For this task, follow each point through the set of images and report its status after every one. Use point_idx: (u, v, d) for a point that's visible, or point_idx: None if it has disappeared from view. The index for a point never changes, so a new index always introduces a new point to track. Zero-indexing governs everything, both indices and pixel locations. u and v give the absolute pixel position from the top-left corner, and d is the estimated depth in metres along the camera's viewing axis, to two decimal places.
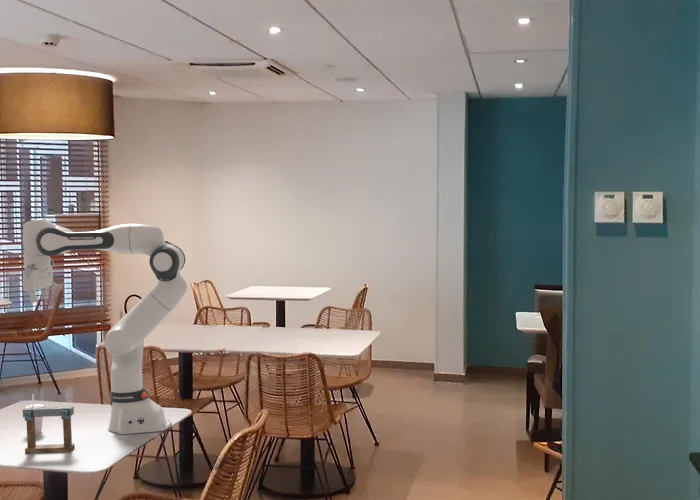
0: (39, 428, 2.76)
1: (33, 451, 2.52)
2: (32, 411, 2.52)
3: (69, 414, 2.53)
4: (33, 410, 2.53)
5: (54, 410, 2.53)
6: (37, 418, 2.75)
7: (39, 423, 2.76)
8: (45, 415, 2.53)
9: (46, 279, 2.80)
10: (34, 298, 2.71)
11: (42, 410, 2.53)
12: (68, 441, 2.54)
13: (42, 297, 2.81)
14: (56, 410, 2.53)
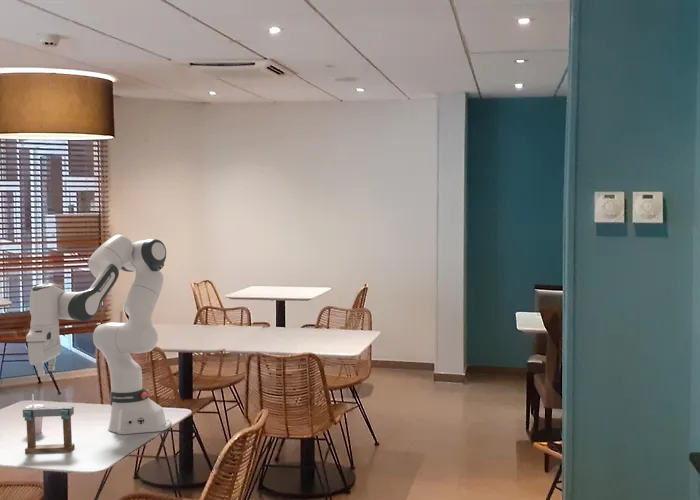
0: (39, 428, 2.76)
1: (33, 451, 2.52)
2: (32, 411, 2.52)
3: (69, 414, 2.53)
4: (33, 410, 2.53)
5: (54, 410, 2.53)
6: (37, 418, 2.75)
7: (39, 423, 2.76)
8: (45, 415, 2.53)
9: None
10: None
11: (42, 410, 2.53)
12: (68, 441, 2.54)
13: None
14: (56, 410, 2.53)
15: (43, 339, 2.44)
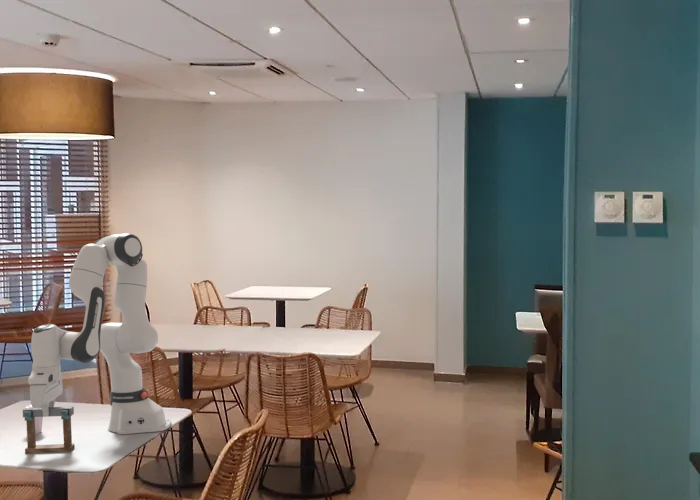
0: (39, 428, 2.76)
1: (33, 451, 2.52)
2: (32, 411, 2.52)
3: (69, 414, 2.53)
4: (33, 410, 2.53)
5: (54, 410, 2.53)
6: (37, 418, 2.75)
7: (39, 423, 2.76)
8: None
9: None
10: None
11: None
12: (68, 441, 2.54)
13: None
14: (56, 410, 2.53)
15: (45, 382, 2.45)
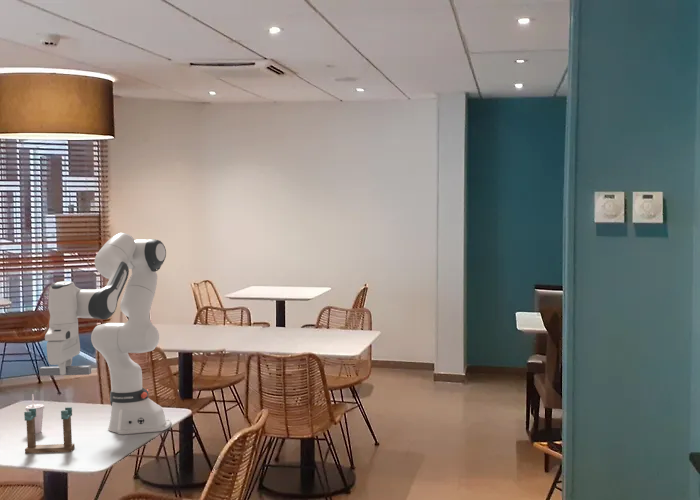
0: (39, 428, 2.76)
1: (33, 451, 2.52)
2: (49, 369, 2.47)
3: (86, 373, 2.47)
4: (50, 368, 2.47)
5: (71, 369, 2.47)
6: (37, 418, 2.75)
7: (39, 423, 2.76)
8: None
9: None
10: None
11: None
12: (68, 441, 2.54)
13: None
14: (73, 369, 2.47)
15: (62, 338, 2.39)
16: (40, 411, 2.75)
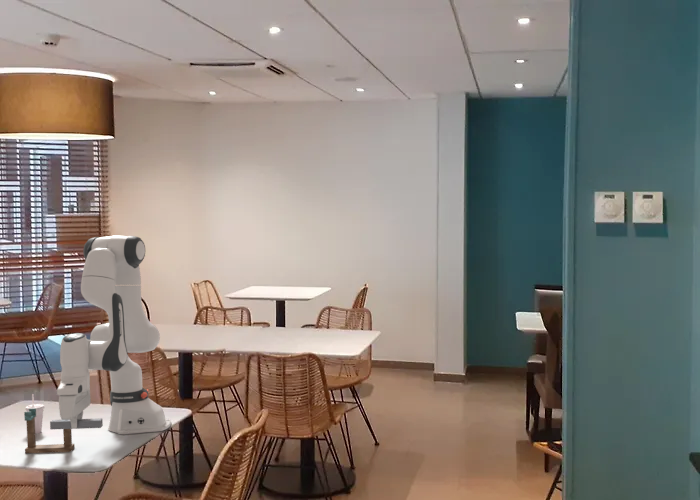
0: (39, 428, 2.76)
1: (33, 451, 2.52)
2: (60, 423, 2.45)
3: (98, 426, 2.45)
4: (61, 422, 2.45)
5: (82, 422, 2.45)
6: (37, 418, 2.75)
7: (39, 423, 2.76)
8: None
9: None
10: None
11: (70, 422, 2.45)
12: (68, 441, 2.54)
13: None
14: (85, 422, 2.45)
15: (74, 393, 2.37)
16: (40, 411, 2.75)
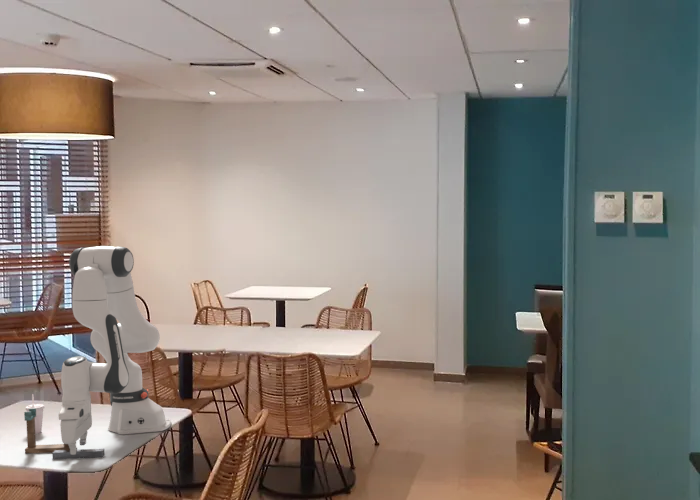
0: (39, 428, 2.76)
1: (33, 451, 2.52)
2: (62, 454, 2.46)
3: (100, 457, 2.46)
4: (63, 453, 2.46)
5: (85, 453, 2.46)
6: (37, 418, 2.75)
7: (39, 423, 2.76)
8: (75, 458, 2.46)
9: None
10: None
11: None
12: None
13: None
14: (87, 453, 2.46)
15: (76, 417, 2.38)
16: (40, 411, 2.75)
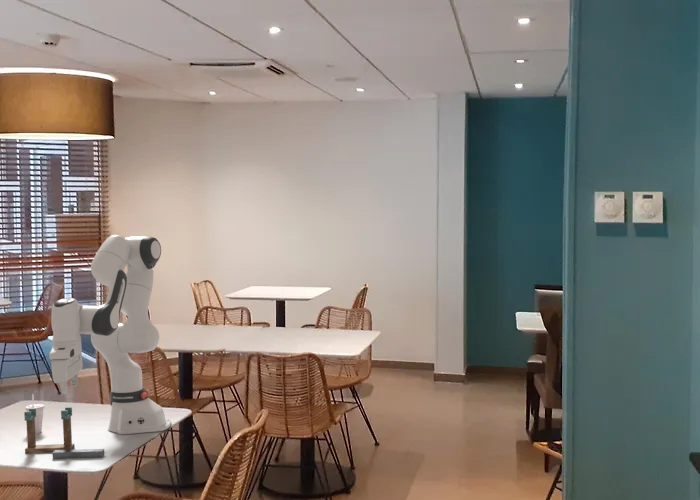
0: (39, 428, 2.76)
1: (33, 451, 2.52)
2: (62, 454, 2.46)
3: (100, 457, 2.46)
4: (63, 453, 2.46)
5: (84, 453, 2.46)
6: (37, 418, 2.75)
7: (39, 423, 2.76)
8: (75, 458, 2.46)
9: None
10: None
11: (72, 453, 2.46)
12: (68, 441, 2.54)
13: None
14: (86, 453, 2.46)
15: (67, 357, 2.39)
16: (40, 411, 2.75)
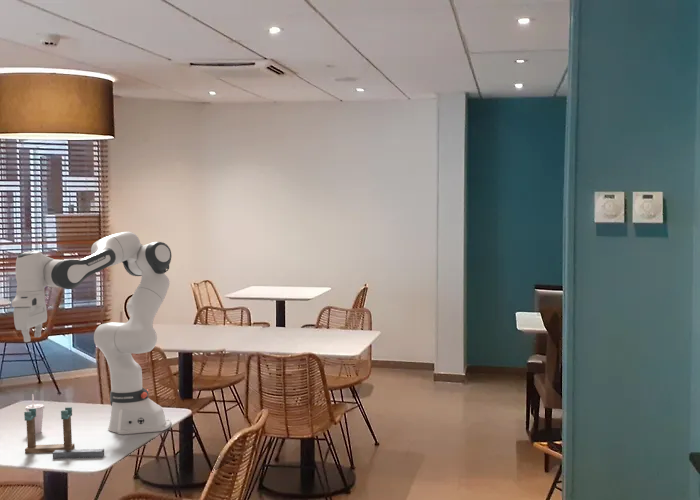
0: (39, 428, 2.76)
1: (33, 451, 2.52)
2: (62, 454, 2.46)
3: (99, 457, 2.46)
4: (63, 453, 2.46)
5: (84, 453, 2.46)
6: (37, 418, 2.75)
7: (39, 423, 2.76)
8: (75, 458, 2.46)
9: None
10: None
11: (72, 453, 2.46)
12: (68, 441, 2.54)
13: None
14: (86, 453, 2.46)
15: (28, 304, 2.48)
16: (40, 411, 2.75)
